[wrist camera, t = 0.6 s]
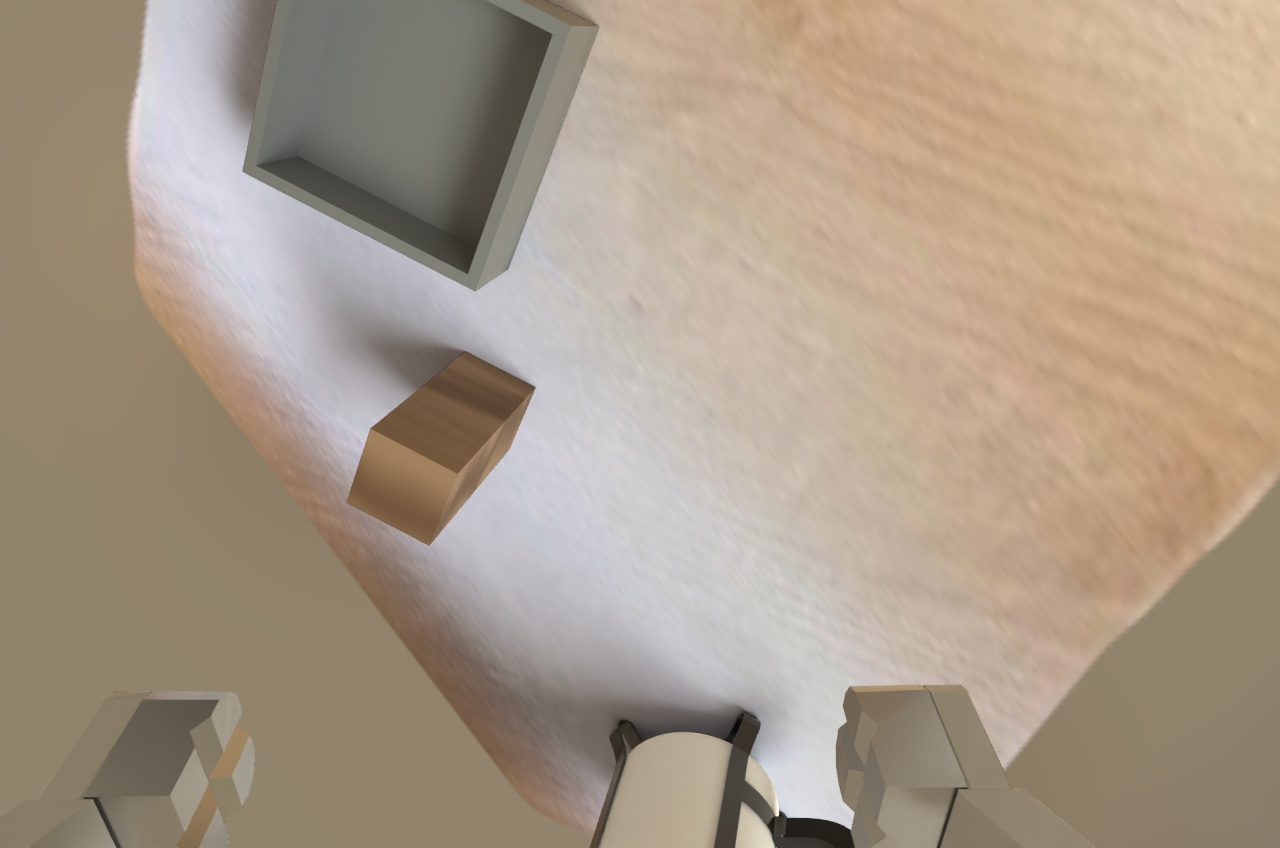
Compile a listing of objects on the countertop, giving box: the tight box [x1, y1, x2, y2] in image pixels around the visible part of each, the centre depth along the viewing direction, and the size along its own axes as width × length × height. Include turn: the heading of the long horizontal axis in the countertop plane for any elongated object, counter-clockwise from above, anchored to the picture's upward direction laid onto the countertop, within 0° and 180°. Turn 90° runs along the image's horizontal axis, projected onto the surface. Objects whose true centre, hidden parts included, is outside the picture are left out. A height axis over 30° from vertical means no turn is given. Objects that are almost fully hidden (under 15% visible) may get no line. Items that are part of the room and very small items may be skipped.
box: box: [242, 0, 599, 291], centre depth 46 cm, size 14×14×5 cm
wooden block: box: [346, 351, 536, 545], centre depth 50 cm, size 5×5×12 cm
